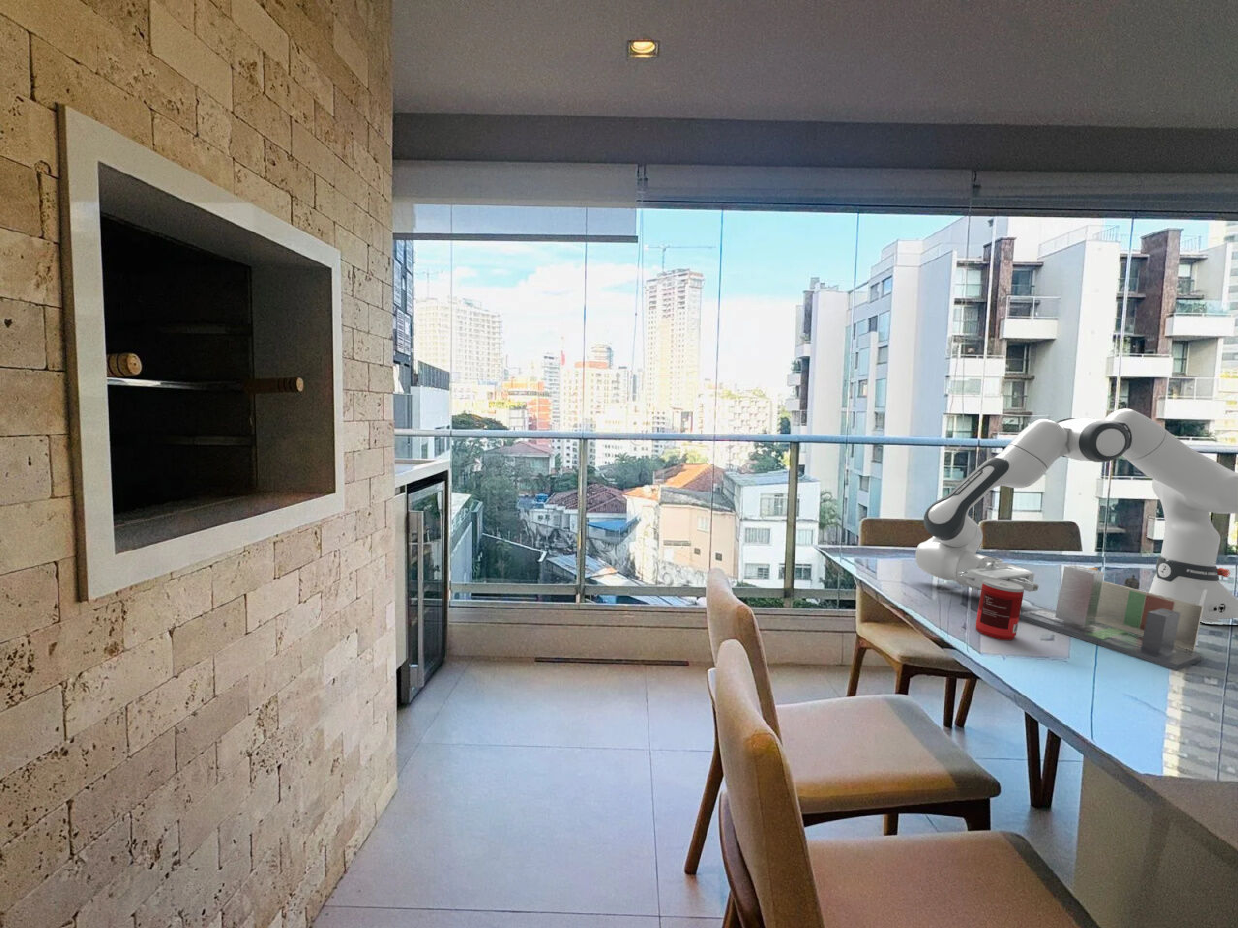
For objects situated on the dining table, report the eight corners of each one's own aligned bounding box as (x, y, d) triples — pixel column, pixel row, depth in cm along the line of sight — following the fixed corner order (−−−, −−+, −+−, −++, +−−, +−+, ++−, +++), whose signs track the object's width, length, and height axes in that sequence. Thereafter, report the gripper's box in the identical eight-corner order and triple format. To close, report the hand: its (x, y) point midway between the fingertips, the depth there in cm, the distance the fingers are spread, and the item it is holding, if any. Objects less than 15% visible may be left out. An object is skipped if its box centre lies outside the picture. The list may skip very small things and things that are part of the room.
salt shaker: (1144, 628, 157) (1154, 579, 156) (1117, 624, 158) (1126, 575, 157) (1131, 620, 163) (1140, 573, 162) (1104, 616, 164) (1113, 569, 163)
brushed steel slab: (1055, 617, 152) (1064, 566, 150) (1071, 613, 156) (1081, 564, 155) (1084, 626, 147) (1094, 573, 145) (1101, 622, 151) (1110, 571, 150)
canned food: (1004, 629, 144) (1013, 580, 143) (1023, 642, 137) (1032, 591, 135) (968, 624, 145) (976, 576, 144) (984, 637, 137) (993, 586, 136)
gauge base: (1016, 618, 154) (1023, 576, 153) (1058, 609, 166) (1065, 571, 165) (1176, 670, 129) (1186, 621, 128) (1212, 656, 141) (1221, 610, 140)
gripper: (957, 561, 163) (1015, 577, 151) (999, 557, 174) (1057, 572, 163) (952, 586, 163) (1010, 604, 152) (995, 580, 175) (1052, 597, 163)
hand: (1035, 588), depth 157 cm, fingers closed
